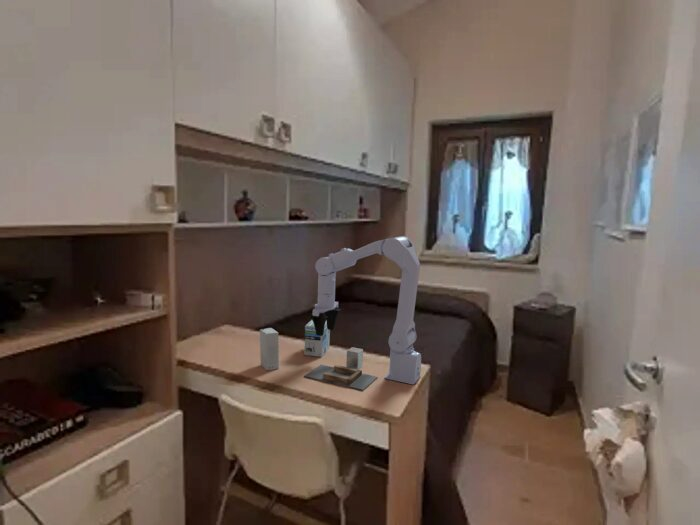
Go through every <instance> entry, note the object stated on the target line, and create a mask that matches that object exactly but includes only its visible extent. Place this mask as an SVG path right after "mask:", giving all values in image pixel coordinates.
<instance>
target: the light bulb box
mask: <svg viewBox="0 0 700 525" xmlns="http://www.w3.org/2000/svg"><path fill="white" fill-rule="evenodd" d="M330 334H331V330H328V329H327V320H326V322H325V326H324V333H323V336H319V335H317V334H316V330H315V326H314V323H313V321H312V319H311V320H310V321H309V322H308V323H307V324H306V325H304V353H303V354H304V356H311V357H319V358H322V357H323V356H324V355H325V354H326V353H327V351H329V349H330V337H331V335H330Z"/></svg>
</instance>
